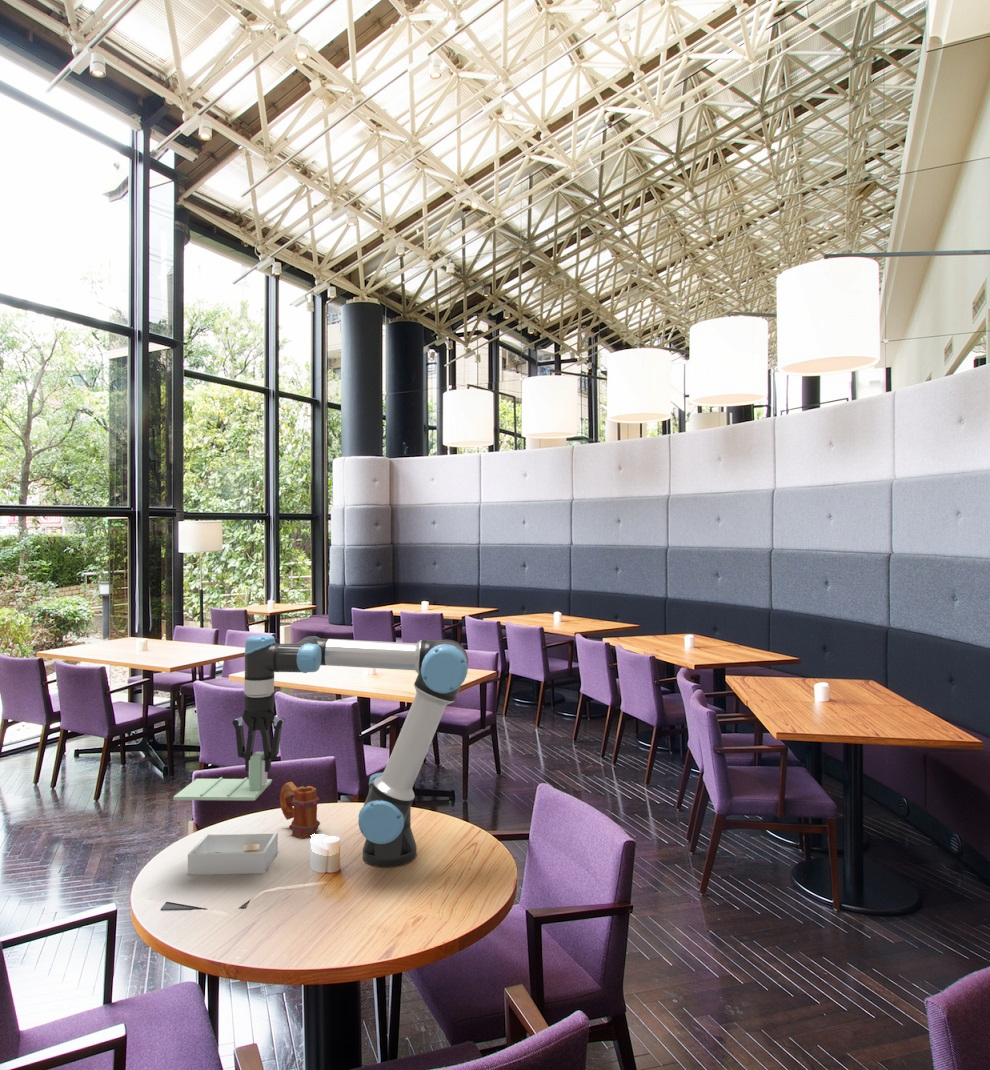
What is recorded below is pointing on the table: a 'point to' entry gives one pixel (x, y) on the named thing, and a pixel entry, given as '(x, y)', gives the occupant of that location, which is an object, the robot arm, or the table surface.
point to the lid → (228, 785)
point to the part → (251, 848)
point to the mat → (186, 907)
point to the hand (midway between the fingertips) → (257, 783)
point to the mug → (300, 809)
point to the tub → (232, 854)
